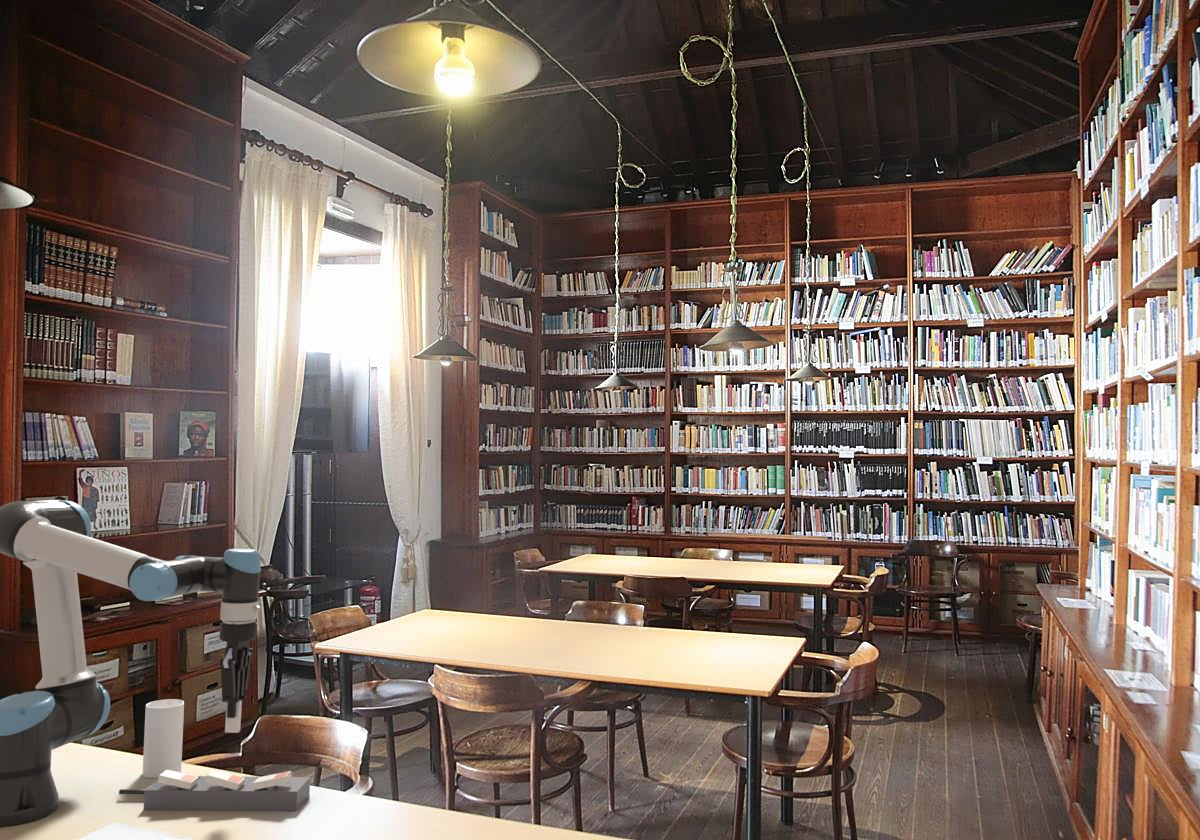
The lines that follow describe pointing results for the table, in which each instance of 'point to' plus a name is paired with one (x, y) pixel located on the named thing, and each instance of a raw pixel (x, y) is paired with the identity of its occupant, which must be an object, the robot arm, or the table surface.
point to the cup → (163, 737)
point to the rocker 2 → (225, 779)
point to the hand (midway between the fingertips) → (232, 731)
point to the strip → (225, 796)
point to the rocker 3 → (272, 780)
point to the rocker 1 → (178, 779)
